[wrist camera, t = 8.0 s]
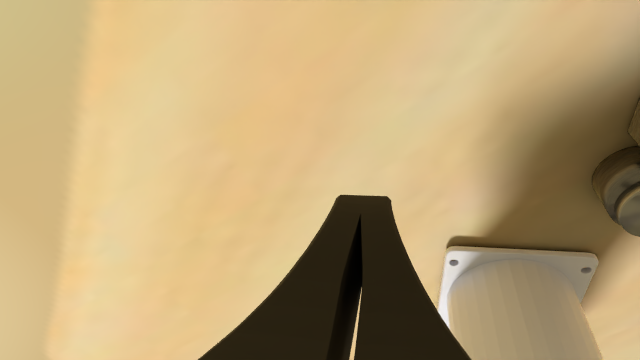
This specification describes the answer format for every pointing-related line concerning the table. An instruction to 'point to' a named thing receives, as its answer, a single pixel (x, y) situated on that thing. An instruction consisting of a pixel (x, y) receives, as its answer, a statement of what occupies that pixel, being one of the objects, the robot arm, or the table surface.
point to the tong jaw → (630, 190)
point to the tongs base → (616, 177)
